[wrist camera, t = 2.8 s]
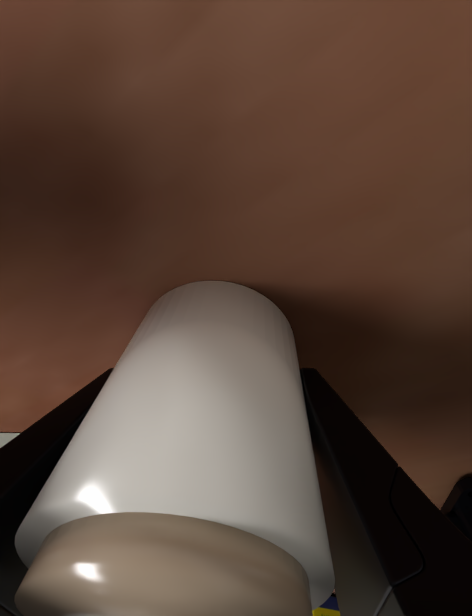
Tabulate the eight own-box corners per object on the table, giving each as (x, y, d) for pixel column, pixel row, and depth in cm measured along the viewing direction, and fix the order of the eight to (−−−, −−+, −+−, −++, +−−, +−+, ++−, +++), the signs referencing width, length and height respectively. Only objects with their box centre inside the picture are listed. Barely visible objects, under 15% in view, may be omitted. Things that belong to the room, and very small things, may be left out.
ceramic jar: (299, 278, 9) (377, 571, 3) (291, 403, 11) (325, 682, 6) (124, 282, 9) (-102, 543, 3) (157, 402, 12) (62, 659, 6)
